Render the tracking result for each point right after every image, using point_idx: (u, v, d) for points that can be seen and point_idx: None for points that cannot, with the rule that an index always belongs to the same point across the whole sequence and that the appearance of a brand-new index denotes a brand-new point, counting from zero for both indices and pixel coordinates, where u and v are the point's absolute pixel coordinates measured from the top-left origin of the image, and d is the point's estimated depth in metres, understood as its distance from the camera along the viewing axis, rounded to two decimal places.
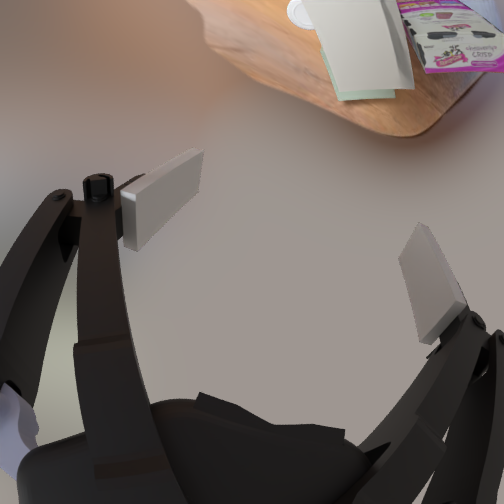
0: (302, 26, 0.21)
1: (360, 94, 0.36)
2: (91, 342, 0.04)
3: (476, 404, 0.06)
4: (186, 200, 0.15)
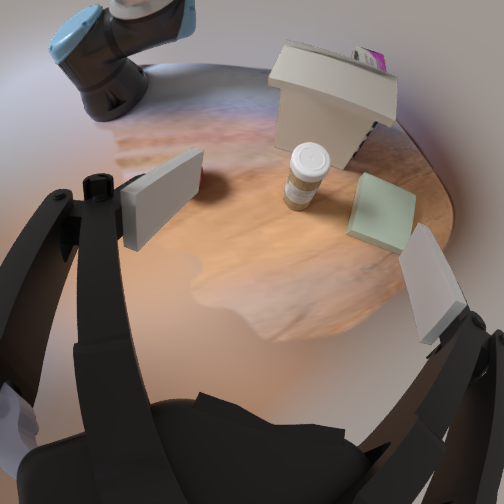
0: (322, 171, 0.28)
1: (407, 225, 0.38)
2: (92, 341, 0.04)
3: (476, 404, 0.06)
4: (186, 200, 0.15)
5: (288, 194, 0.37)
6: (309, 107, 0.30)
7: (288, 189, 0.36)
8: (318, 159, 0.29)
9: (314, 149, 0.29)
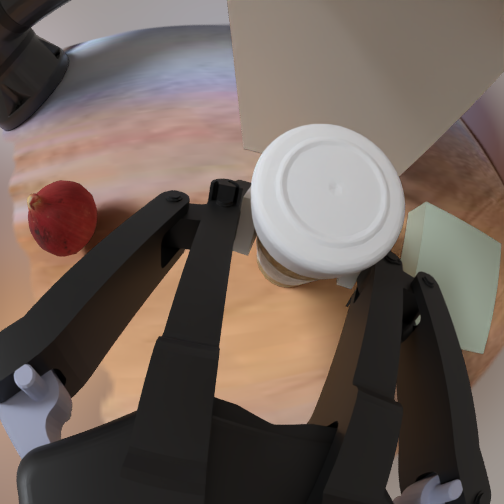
0: (376, 247, 0.07)
1: (488, 304, 0.16)
2: (177, 341, 0.05)
3: (419, 362, 0.07)
4: None
5: (263, 267, 0.15)
6: (314, 33, 0.09)
7: (261, 260, 0.14)
8: (362, 192, 0.07)
9: (343, 151, 0.07)
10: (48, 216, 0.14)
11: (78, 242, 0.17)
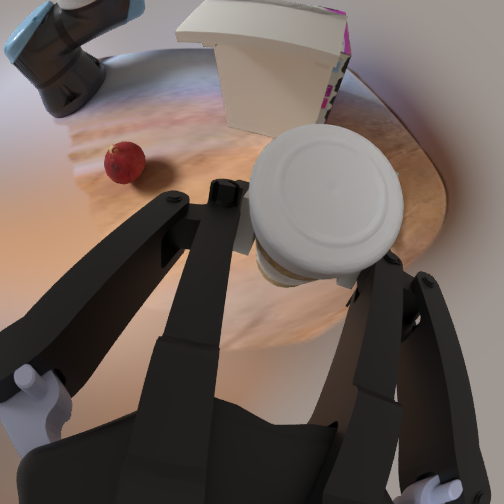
0: (374, 247, 0.07)
1: None
2: (178, 341, 0.05)
3: (419, 362, 0.07)
4: None
5: (262, 267, 0.15)
6: (251, 71, 0.24)
7: (260, 260, 0.14)
8: (360, 192, 0.07)
9: (342, 151, 0.07)
10: (122, 156, 0.30)
11: (136, 173, 0.32)
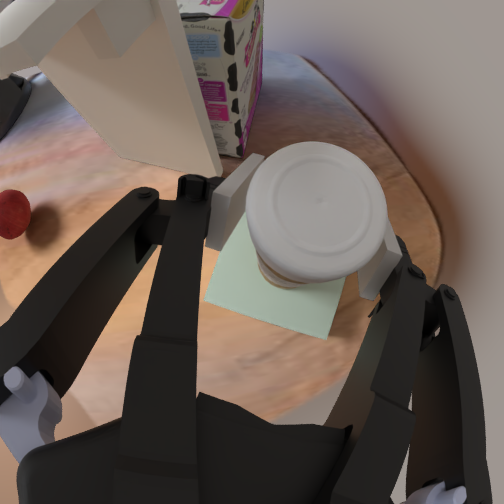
0: (357, 255, 0.07)
1: (331, 285, 0.21)
2: (155, 338, 0.05)
3: (436, 370, 0.07)
4: None
5: (262, 270, 0.16)
6: (88, 86, 0.13)
7: (259, 263, 0.15)
8: (346, 206, 0.08)
9: (330, 167, 0.08)
10: None
11: (16, 229, 0.21)
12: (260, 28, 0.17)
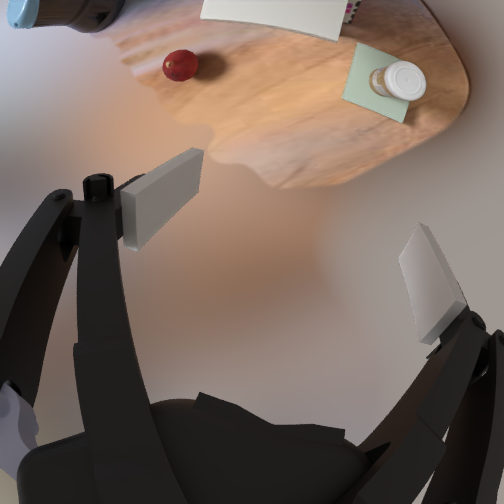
0: (417, 96, 0.21)
1: None
2: (91, 342, 0.04)
3: (476, 404, 0.06)
4: (186, 200, 0.15)
5: (376, 88, 0.28)
6: None
7: (377, 86, 0.27)
8: (414, 82, 0.20)
9: (410, 71, 0.19)
10: (178, 67, 0.33)
11: (193, 73, 0.36)
12: None
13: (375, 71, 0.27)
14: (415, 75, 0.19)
